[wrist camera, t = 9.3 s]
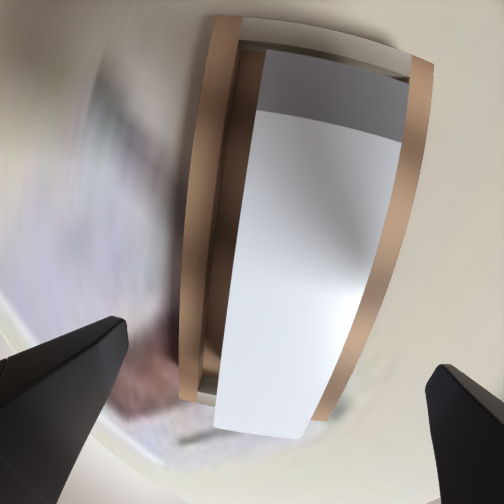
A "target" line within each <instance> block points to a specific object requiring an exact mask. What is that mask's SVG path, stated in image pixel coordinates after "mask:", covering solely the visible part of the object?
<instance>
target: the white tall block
mask: <svg viewBox="0 0 504 504" xmlns="http://www.w3.org/2000/svg"><path fill="white" fill-rule="evenodd" d="M409 86H410V84H407V83H404V82H402V81H399V80H396V79H393V78H390V77H387V76H384V75H381V74H378V73H375V72H371V71H368V70H365V69H361V68H358V67H354V66H350V65H346V64H342V63H338V62H334V61H330V60H325V59H321V58H316V57H311V56H306V55H300V54H295V53H288V52H282V51H275V50H267V49H266V55H265V61H264V67H263V73H262V79H261V85H260V91H259V97H258V103H257V109H256V116H255V122H254V128H253V135H252V141H251V147H250V154H249V160H248V167H247V174H246V180H245V187H244V194H243V200H242V207H241V214H240V221H239V228H238V235H237V242H236V249H235V256H234V264H233V271H232V278H231V286H230V293H229V301H228V308H227V316H226V324H225V331H224V339H223V347H222V355H221V363H220V372H219V380H218V388H217V397H216V405H215V414H214V423H213V427H215V428H220V429H225V430H231V431H237V432H243V433H250V434H257V435H264V436H272V437H282V438H292V439H301V437H302V435H303V433H304V431H305V429H306V427H307V425H308V423H309V421H310V419H311V417H312V415H313V413H314V411H315V409H316V407H317V405H318V403H319V401H320V399H321V397H322V395H323V393H324V390H325V388H326V386H327V384H328V382H329V379H330V377H331V375H332V373H333V370H334V368H335V366H336V363H337V361H338V359H339V356H340V354H341V351H342V349H343V346H344V344H345V341H346V339H347V336H348V334H349V331H350V329H351V326H352V323H353V321H354V318H355V315H356V312H357V310H358V307H359V304H360V301H361V298H362V295H363V292H364V289H365V286H366V283H367V280H368V277H369V274H370V271H371V268H372V265H373V261H374V258H375V255H376V251H377V248H378V244H379V241H380V237H381V234H382V230H383V226H384V222H385V219H386V215H387V211H388V207H389V202H390V198H391V194H392V189H393V185H394V180H395V176H396V171H397V166H398V161H399V155H400V150H401V144H402V138H403V132H404V126H405V119H406V112H407V104H408V95H409Z"/></svg>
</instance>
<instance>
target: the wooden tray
mask: <svg viewBox="0 0 504 504" xmlns="http://www.w3.org/2000/svg"><path fill="white" fill-rule="evenodd" d="M266 49H267V50H275V51H282V52H288V53H295V54H300V55H306V56H311V57H316V58H321V59H325V60H330V61H334V62H338V63H342V64H346V65H350V66H354V67H358V68H361V69H365V70H368V71H371V72H375V73H378V74H381V75H384V76H387V77H390V78H393V79H396V80H399V81H402V82H404V83H407V84H410V86H409V95H408V104H407V112H406V119H405V126H404V132H403V138H402V144H401V150H400V155H399V161H398V166H397V171H396V176H395V180H394V185H393V189H392V194H391V198H390V202H389V207H388V211H387V215H386V219H385V222H384V226H383V230H382V234H381V237H380V241H379V244H378V248H377V251H376V255H375V258H374V261H373V265H372V268H371V271H370V274H369V277H368V280H367V283H366V286H365V289H364V292H363V295H362V298H361V301H360V304H359V307H358V310H357V312H356V315H355V318H354V321H353V323H352V326H351V329H350V331H349V334H348V336H347V339H346V341H345V344H344V346H343V349H342V351H341V354H340V356H339V359H338V361H337V363H336V366H335V368H334V370H333V373H332V375H331V377H330V379H329V382H328V384H327V386H326V388H325V390H324V393H323V395H322V397H321V399H320V401H319V403H318V405H317V407H316V409H315V411H314V413H313V415H312V417H311V419H310V420H320V421H327V420H328V418H329V416H330V415H331V413H332V411H333V409H334V407H335V405H336V404H337V402H338V400H339V398H340V396H341V394H342V392H343V390H344V388H345V386H346V384H347V382H348V380H349V378H350V376H351V374H352V372H353V370H354V368H355V366H356V363H357V361H358V359H359V357H360V355H361V352H362V350H363V348H364V346H365V343H366V341H367V339H368V336H369V334H370V332H371V329H372V327H373V324H374V322H375V320H376V317H377V314H378V312H379V309H380V307H381V304H382V301H383V299H384V296H385V293H386V291H387V288H388V285H389V282H390V279H391V276H392V273H393V270H394V267H395V264H396V261H397V258H398V255H399V252H400V248H401V245H402V242H403V238H404V235H405V231H406V228H407V224H408V221H409V217H410V213H411V209H412V205H413V201H414V197H415V192H416V188H417V184H418V179H419V174H420V169H421V164H422V159H423V153H424V148H425V142H426V135H427V129H428V122H429V114H430V106H431V96H432V85H433V71H434V64H432V63H430V62H428V61H426V60H423V59H421V58H418V57H416V56H414V55H411V54H408V53H406V52H403V51H401V50H398V49H395V48H392V47H389V46H387V45H384V44H381V43H377V42H374V41H371V40H368V39H364V38H361V37H357V36H354V35H350V34H346V33H342V32H338V31H334V30H330V29H325V28H320V27H316V26H310V25H305V24H299V23H293V22H286V21H279V20H271V19H262V18H251V17H236V16H215V21H214V25H213V30H212V35H211V39H210V44H209V49H208V54H207V59H206V65H205V70H204V76H203V81H202V87H201V93H200V99H199V106H198V112H197V119H196V126H195V133H194V140H193V148H192V156H191V164H190V173H189V182H188V191H187V201H186V212H185V224H184V236H183V250H182V266H181V286H180V312H179V399H183V400H187V401H191V402H196V403H200V404H205V405H209V406H214V407H215V405H216V397H217V388H218V380H219V372H220V363H221V355H222V347H223V339H224V331H225V324H226V316H227V308H228V301H229V293H230V286H231V278H232V271H233V264H234V256H235V249H236V242H237V235H238V228H239V221H240V214H241V207H242V200H243V194H244V187H245V180H246V174H247V167H248V160H249V154H250V147H251V141H252V135H253V128H254V122H255V116H256V109H257V103H258V97H259V91H260V85H261V79H262V73H263V67H264V61H265V55H266Z"/></svg>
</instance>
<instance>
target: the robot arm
mask: <svg viewBox="0 0 504 504" xmlns="http://www.w3.org/2000/svg"><path fill="white" fill-rule="evenodd" d="M128 345H129V342H128V333H127V324H126V321H125V320H124V319H123V318H119V317H115V316H109V317H107V318H104V319H102V320H99V321H97V322H95V323H92V324H90V325H87V326H85V327H82V328H80V329H77V330H75V331H72V332H70V333H67V334H65V335H62V336H60V337H57V338H55V339H52V340H50V341H48V342H45V343H43V344H40V345H38V346H35V347H33V348H30V349H28V350H25V351H23V352H20V353H18V354H15V355H13V356H10V357H8V358H7V359H3V360H0V504H56V503H57V501H58V499H59V497H60V494H61V492H62V490H63V488H64V485H65V483H66V481H67V479H68V477H69V475H70V472H71V470H72V468H73V466H74V464H75V462H76V460H77V458H78V456H79V454H80V451H81V449H82V447H83V445H84V443H85V441H86V439H87V437H88V435H89V433H90V431H91V429H92V428H93V426H94V424H95V422H96V420H97V418H98V416H99V414H100V412H101V410H102V408H103V406H104V404H105V403H106V401H107V399H108V397H109V395H110V392H111V390H112V388H113V385H114V383H115V380H116V377H117V375H118V372H119V370H120V367H121V365H122V363H123V360H124V358H125V355H126V353H127V350H128ZM425 393H426V400H427V408H428V416H429V425H430V432H431V438H432V443H433V449H434V454H435V460H436V466H437V473H438V480H439V488H440V497H441V504H504V403H503V402H502V401H501V400H499V399H498V398H497V397H495V396H494V395H493V394H491V393H490V392H488V391H487V390H486V389H484V388H483V387H482V386H480V385H479V384H478V383H476V382H475V381H473V380H472V379H471V378H469V377H468V376H466V375H465V374H464V373H462V372H461V371H459V370H458V369H457V368H455V367H454V366H452V365H451V364H440V365H438V366H437V367H436V369H435V371H434V372H433V374H432V376H431V377H430V379H429V380H428V382H427V384H426V387H425Z"/></svg>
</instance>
